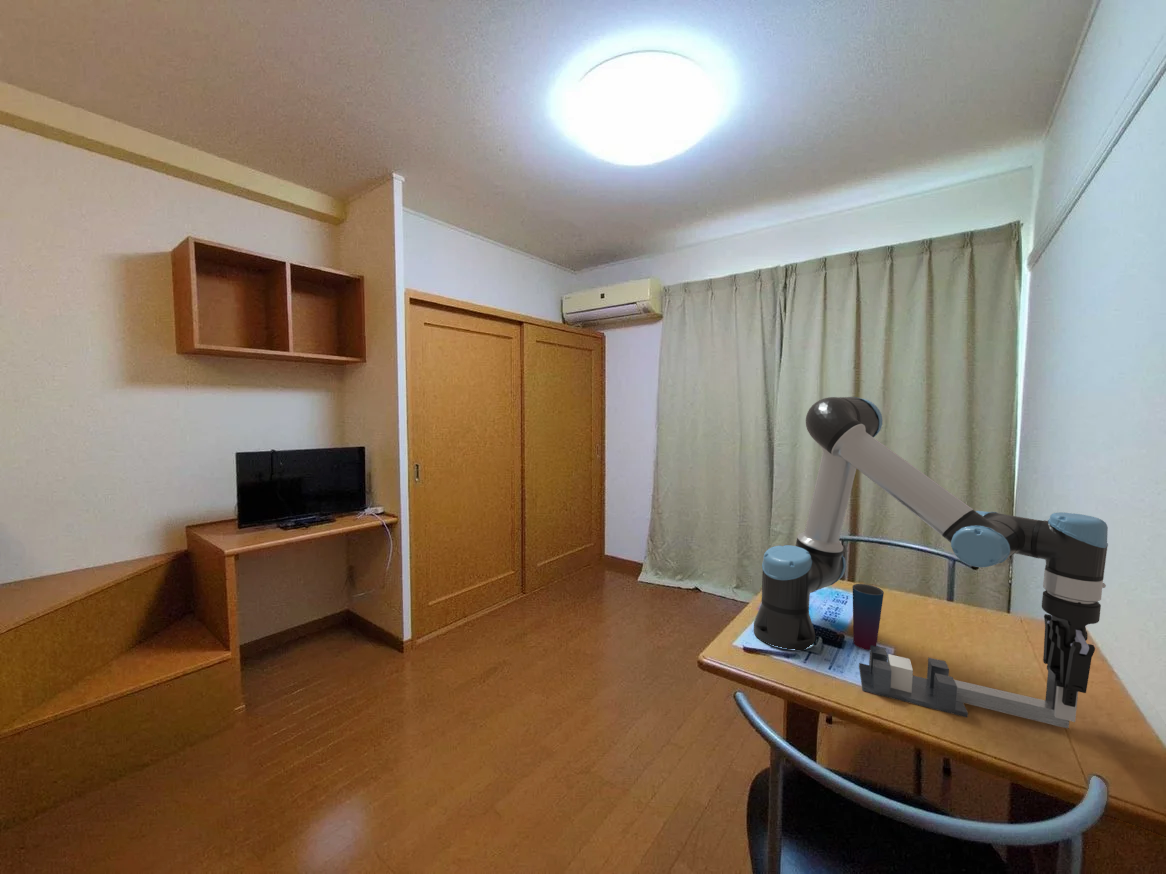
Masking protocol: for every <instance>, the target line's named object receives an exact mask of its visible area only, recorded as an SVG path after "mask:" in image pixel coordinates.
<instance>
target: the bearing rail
mask: <svg viewBox="0 0 1166 874" xmlns="http://www.w3.org/2000/svg"><path fill="white" fill-rule="evenodd" d="M868 663H869V664H865V663H862V662H859V664H858V669H859V675H860V682H861V683H860V684H861V690H862V692H867V693H870V694H873V695H878V696H881V697H886V698H889V699H894V700H897V701H900V702H904V703H908V704H912V705H916V706H921V707H925V708H928V709H932V710H936V711H940V712H944V713H948V714H952V715H955V716H959V717H963V718H968V717H969V712H968V710H967V708H966V706H965V703H962V702H958V701H956V695H957V685H956V683H955V681H954V680H955V679H954V677H953V676H951V675H950V668H949V666H948V664H947V662H946V660H941V659H937V658H932V657H928V658H927V671H926V672H927V674H926V678H925V677H921V676H916V675H913V677H912V692H911V693H910V692H906V691H902V690H898V689H894V688H891V667H890V663H889V662H888V652H887V649H886V648H885V647H882V646H881V647H880V646H873V645H870V650H869V661H868Z"/></svg>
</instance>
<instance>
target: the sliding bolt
mask: <svg viewBox="0 0 1166 874" xmlns="http://www.w3.org/2000/svg"><path fill="white" fill-rule="evenodd" d="M1046 678H1047V680H1046V689H1045V699H1041V698H1035V697H1032V696H1031V697H1030V696H1028V695H1022V694H1018V693H1014V692H1010V691H1006V690H1001V689H996V688H991V687H988V686H984V685H978V684H975V683H971V682H965V681H962V680H957V679H954V681H955V683H956V685H957V695H956V701H958V702H962V703H964V704H966V705H971V706H975V707H978V708H983V709H986V710H992V711H996V712H999V713H1004V714H1007V715H1012V716H1016V717H1019V718H1024V719H1026V720H1027V719H1028V720H1032V721H1035V722H1040V723H1044V724H1049V725H1051V726H1052V725H1053V726H1055V727H1059V728H1060V727H1061V728H1064V729H1069V727H1070V721H1068V720H1064V719H1060V718H1056V717H1055V716H1054V708H1055V697H1056V687H1057V686H1056V685H1055V681H1056V682H1060V669H1056V668H1051V667H1048V670H1047V677H1046Z"/></svg>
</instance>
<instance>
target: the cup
mask: <svg viewBox="0 0 1166 874" xmlns="http://www.w3.org/2000/svg"><path fill="white" fill-rule="evenodd" d="M884 594H885V593H884V590H883V589H881V588H879V587H877V586H875V585H871V584H867V583H866V584H865V583H856V584H853V585H852V631H853V632H852V633H853V636H852V637H853V641H852V642H853V644H854V645H855V647H858V648H859V649H861V650H866V651H870V645H873V646H877V645H878V638H879V631H880V630H879V628H880V621H881V615H882V610H883V609H882V607H883V601H884Z"/></svg>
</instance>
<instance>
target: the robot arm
mask: <svg viewBox="0 0 1166 874" xmlns="http://www.w3.org/2000/svg"><path fill="white" fill-rule="evenodd" d="M805 416H806V417H805V427H806V430H807V432H808V434H809V435H810V437H811V438H812V439H813V440H814V441H815V442H816V443H817V445H819V447H820V448H821V450H822V454H821V459H820V463H819V467H818V472H817V476H816V481H815V486H814V489H813V494H812V499H811V503H810V507H809V510H808V511H809V512H808V516H807V520H806V525H805V530H804V531H803V532H799V534H797V537H796V541H795V545H789V544H786V545H785V544H784V545H775V546H772V547H769V548H768V549H766V551H765V552H764V554H763V558H762V563H761V564H762V565H761V568H762V576H761V577H762V579H761V582H762V584H761V603H760V606H759V608H758V611H757V614H756V616H755V618H754V620H753V621H754V622H753V633H754V635H755V636H756V637H757V639H759V640H760V639H761V640H763V641H765V642H767V643H769V644H771V645H774V646H778V647H782V648H787V649H795V650H802V651H805V650H804V649H806V648H807V647H809V646H810V645H812V644H813V643H814V641H815V642H816V633H815V632H816V631H815V628H814V625H813V622H812V618H811V615H810V596H811V593H814V592H816V591H819V590H821V589H824V588H827V587H830V586H833V585H834V584H836V583H837V582H838V581H839V580H841V578H842V577H844V575H845V571H846V567H847V562H846V557H844V553H843V551H844V545H843V544H842V543H841V542H840V538H841V533H842V529H843V525H844V522H845V521H844V520H845V517H846V514H847V513H846V512H847V508H848V504H849V500H850V496H851V492H852V489H853V484H854V480H855V476H856V472H857V470H858V471H859V472H860V473H862V474H863V475H864V476H865V477H867V478H868V479H870V480H871V481H872V482H873V483H874V484H876V485H877V486H878V487H879V488H881V489H882V491H883V490H884V491H885V492H886V493H887V494H888V495H890V496H891V497H892V498H894V500H896V501H898V502H899V503H900V504H901V505H902V506H903V507H905V508H906V509H907V510H909V511H910V512H911V513H913V515H915V516H917V517H918V518H919V519H920V520H921V521H922V522H924V523H925V524H926V525H928V526H929V527H930V528H931V529H933V530H934V531H935V532H936V533H938V534H939V535H940V536H942V538H944V539H945V540H946V541H948V542H949V543H950V546H951V549H952V551H953V553H954V555H955V556H956V557H957V558H958V559H959V561H961V562H963V563H964V564H966V565H968V566H971V567H974V568H975V567H977V568H988V567H993V566H997V565H998V564H1001V563H1004V562H1005V561H1006V560H1007V559H1008V558H1009V557H1011V556H1013V555H1015V554H1016V555H1021V556H1025V557H1031V558H1034V559H1042V560H1045V568H1044V572H1043V583H1042V587H1043V589H1044V591H1043V592H1042V597H1041V598H1042V600H1041V609H1042V610H1043V611H1044V612H1046V613H1045V614H1044V615H1043V618H1044V639H1043V655H1042V657H1043V658H1042V662H1043V663H1044V664H1045V665H1046V669H1047V671H1048V667H1051V668H1056V669H1060V682H1056V681H1055V685H1056V686H1057V687H1056V697H1055V708H1054V716H1055V717H1056V718H1060V719H1064V720H1068V721H1069V722H1073V723H1076V717H1077V716H1076V715H1077V708H1078V707H1077V706H1078V699H1079V697H1078V695H1079V693H1083V694H1087V689H1088V685H1089V682H1088V681H1089V676H1090V669H1091V664H1092V658H1093V655H1094V653H1095V651H1096V647H1095V646H1094V644H1092V643H1087V640H1088V631H1087V626H1088V625H1094V624H1098V623H1099V622H1100V620H1101V619H1100V617H1101V609H1102V608H1101V606H1102V605H1101V603H1100V602H1099V601H1101V600H1102V594H1103V589H1104V588H1106V586H1107V585H1106V583H1105V582H1104V578H1105V577H1104V576H1105V568H1106V562H1107V561H1106V560H1107V552H1108V547H1109V543H1108V525H1107V522H1106V521H1104V520H1103V519H1100V518H1099V517H1095V516H1092V515H1086V514H1080V513H1072V512H1071V513H1069V512H1053V513H1051V514H1050V516H1049V518H1048V519H1047V520H1046V519H1045V520H1039V519H1034V518H1028V517H1024V516H1023V517H1022V516H1016V515H1010V514H1005V513H999V512H997V511H982V510H974V508H973V507H970V506H969V505H968V504H966V503H965V502H964V501H962V500H961V499H960V498H958V497H957V496H955V495H954V494H953V493H951V492H950V491H948V490H947V489H946V488H944V487H943V486H941V485H940V484H939V483H937V482H936V481H935V480H933V479H932V478H930V477H929V476H927V475H926V474H925V473H923V471H921V470H919V469H918V468H917V467H915V466H914V465H912V464H911V463H910V462H908V461H907V460H905V459H904V458H902V457H901V456H900V455H898V454H897V453H895V452H894V451H893V450H891V449H890V448H888V447H887V445H884V443H882V442H880V441H879V440H877V439H876V438H875V437H876V436H877V435H878V434H879V433H880V431H881V429H882V428H883V427H882V426H883V416H882V412H881V411H880V409H879V408H878V406H877V405H875V403H873V402H872V401H870V400H869V399H865V398H861V397H857V396H845V397H844V396H843V397H842V396H840V397H839V396H838V397H837V396H831V397H830V396H829V397H824V398H821V399H819V400H817V401H816V402H814V403H813V404H812V405H811V407H810V408H809V409H808V411H807V414H806V415H805ZM761 640H760V641H761ZM763 641H762V642H763ZM765 642H764V643H765ZM767 643H766V644H767ZM769 644H768V645H769ZM771 645H770V646H771ZM774 646H773V647H774Z"/></svg>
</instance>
